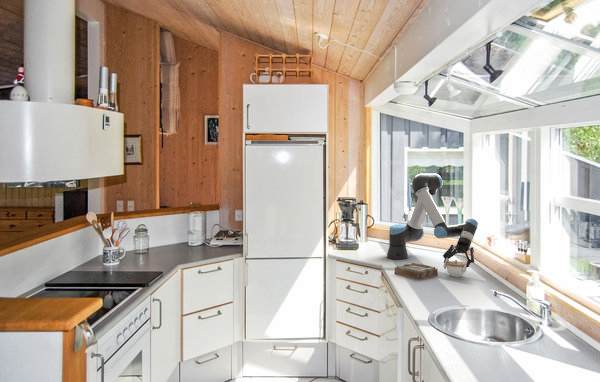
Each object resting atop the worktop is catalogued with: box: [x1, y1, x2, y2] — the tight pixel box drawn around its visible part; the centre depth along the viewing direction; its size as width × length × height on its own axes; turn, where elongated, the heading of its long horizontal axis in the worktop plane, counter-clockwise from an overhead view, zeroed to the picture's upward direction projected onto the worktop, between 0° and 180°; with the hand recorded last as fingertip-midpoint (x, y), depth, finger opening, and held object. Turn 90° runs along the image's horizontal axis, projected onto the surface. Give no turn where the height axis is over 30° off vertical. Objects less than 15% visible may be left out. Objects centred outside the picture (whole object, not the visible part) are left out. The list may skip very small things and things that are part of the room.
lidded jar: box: [446, 259, 465, 278], centre depth 258 cm, size 11×11×9 cm
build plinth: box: [394, 262, 439, 281], centre depth 261 cm, size 18×18×5 cm
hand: (454, 269), depth 256 cm, fingers open, 11 cm apart
